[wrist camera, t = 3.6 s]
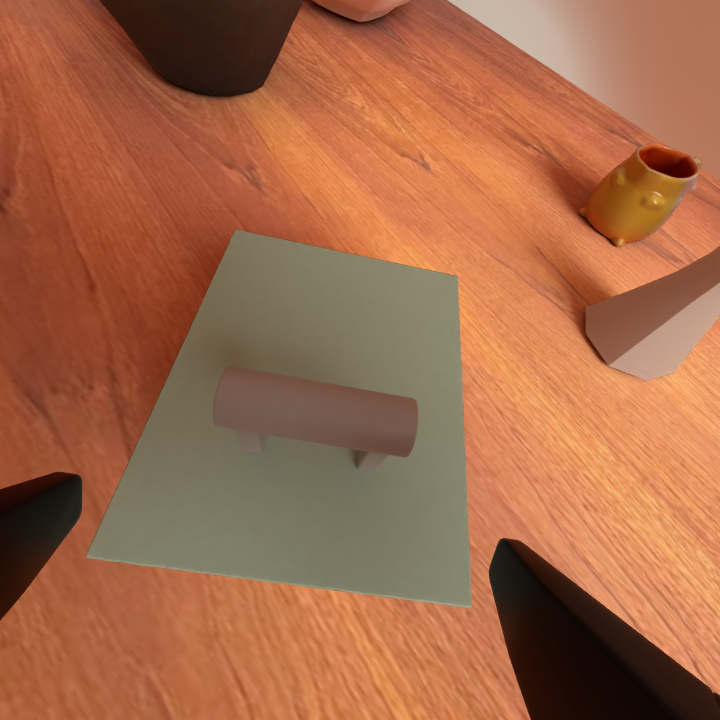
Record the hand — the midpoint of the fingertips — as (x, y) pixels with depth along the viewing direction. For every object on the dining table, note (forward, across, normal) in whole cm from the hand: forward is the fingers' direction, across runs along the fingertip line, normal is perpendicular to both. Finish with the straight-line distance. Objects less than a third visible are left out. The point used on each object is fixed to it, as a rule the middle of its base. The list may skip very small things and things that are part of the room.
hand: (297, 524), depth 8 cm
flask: (+20, -22, -4) cm, 30 cm away
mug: (+32, -28, -16) cm, 45 cm away
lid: (+8, 0, -1) cm, 8 cm away
